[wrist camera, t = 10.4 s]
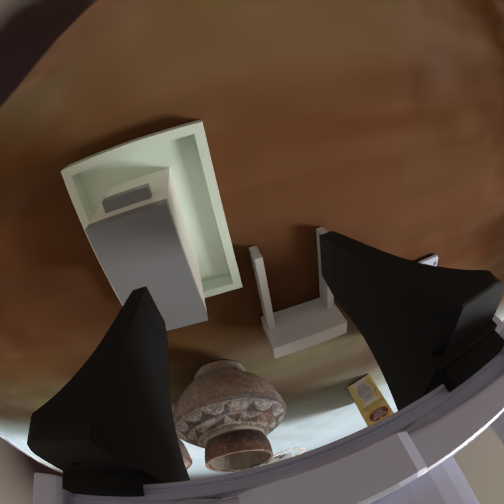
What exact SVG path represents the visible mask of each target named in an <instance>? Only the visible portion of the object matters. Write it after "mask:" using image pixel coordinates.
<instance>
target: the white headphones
mask: <svg viewBox="0 0 504 504" xmlns="http://www.w3.org/2000/svg"><path fill="white" fill-rule="evenodd" d="M296 449H300V450H301V452H300V453H299V454H297V455H300V454H302V453H304V452H305V450H306V449H305V448H303V447H299V448H293V449H289V450H286V451H283V452H280V453H278V454H276V455H274V456H273V457H272V459H271V460H270V461H269V462H267V464H271V463H274V462H278V461H281V460H282V458H275V457H276V456H278V455H279V454H282V453H284V452H287V451H290V450H296ZM295 455H296V454H293V453H288V454H285V455H284V456H283V460H284V459H287V458H290V457H294V456H295ZM297 455H296V456H297ZM267 464H266V465H267Z"/></svg>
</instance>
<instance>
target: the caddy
mask: <svg viewBox="0 0 504 504" xmlns="http://www.w3.org/2000/svg"><path fill="white" fill-rule="evenodd" d="M85 231H86V233H87V236H88V238H89V240H90V242H91V244H92V247H93V249H94V251H95V253H96V255H97V257H98V259H99V261H100V263H101V265H102V267H103V269H104V271H105V273H106V275H107V277H108V279H109V281H110V283H111V285H112V286H113V288H114V290H115V292H116V294H117V296H118V297H119V299H120V301H121V303H122V305H124V303H125V302H126V300H127V298H128V297H129V295H130V294H131V292H132V291H133V290H135V289H138V288H142V287H145V286H147V288H148V290H149V292H150V294H151V296H152V298H153V300H154V302H155V304H156V306H157V308H158V310H159V312H160V314H161V315H162V317H163V319H164V321H165V326H166V331H169V330H173V329H177V328H181V327H185V326H188V325H192V324H196V323H200V322H203V321H207V320H208V315H207V310H206V305H205V299H204V293H203V288H202V282H201V276H200V270H199V264H198V258H197V255H196V252H195V249H194V246H193V243H192V239H191V236H190V233H189V230H188V227H187V224H186V220H185V217H184V214H183V211H182V207H181V204H180V201H179V197H178V194H177V190H176V187H175V184H174V180H173V177H172V173H171V170H170V167H169V168H166V169H163V170H160V171H156V172H153V173H150V174H147V175H144V176H141V177H138V178H135V179H132V180H129V181H126V182H123V183H120V184H117V185H114V186H112V188H111V189H110V191H109V192H108V194H107V195H106V197H105V198H104V199H103V201H102V203H101V205H100V206H99V208H98V209H97V211H96V213H95V214H94V216H93V217H92V219H91V221H90V222H89V224H88V226H87V228H86V229H85Z"/></svg>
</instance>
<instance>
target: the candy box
mask: <svg viewBox="0 0 504 504" xmlns="http://www.w3.org/2000/svg"><path fill="white" fill-rule="evenodd" d="M347 388H348V390H349V392H350V394H351V396H352V398H353V400H354V402H355V404H356V405H357V407H358V409H359V411H360V413H361V415H362V417H363V418H364V420H365V422H366V424H367V426H370V425H372V424H374V423H377V422H379V421H380V420H382V419H384V418H386V417H388V416H390V415H392V414H394V413H393V411H392V409H391V408H390V406H389V405H388V403H387V401H386V400H385V398H384V397H383V395H382V394H381V392H380V391H379V389H378V387H377V386H376V384H375V383H374V381H373V379H372V378H371V376H370V375H369V374H367V375H366V376H364V377H363V378H361V379H360V380H358V381H356V382H355V383H353V384H351V385H350V386H348V387H347Z"/></svg>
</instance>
